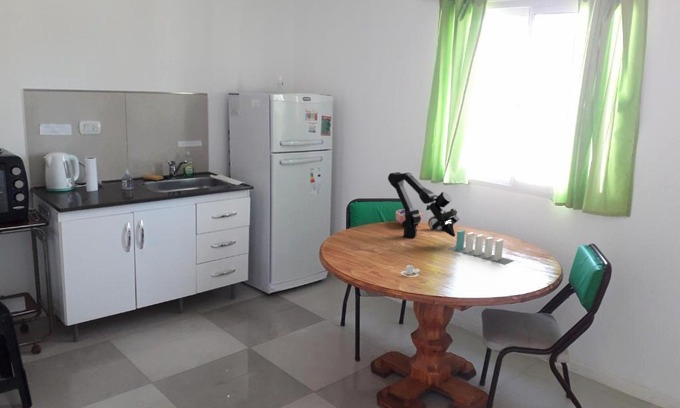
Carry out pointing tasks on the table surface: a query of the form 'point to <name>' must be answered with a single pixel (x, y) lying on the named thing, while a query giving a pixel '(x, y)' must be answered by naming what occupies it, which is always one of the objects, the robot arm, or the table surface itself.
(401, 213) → the cell model
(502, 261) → the mat
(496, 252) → the domino
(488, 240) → the domino
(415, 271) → the teacup and saucer
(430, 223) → the tin
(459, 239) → the teal domino
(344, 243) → the table surface
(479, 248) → the domino
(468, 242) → the domino
